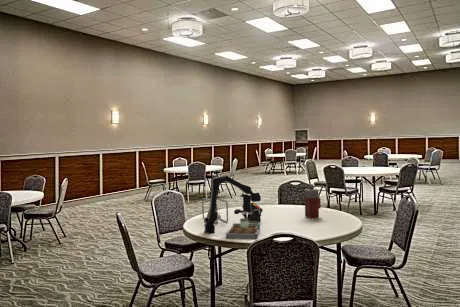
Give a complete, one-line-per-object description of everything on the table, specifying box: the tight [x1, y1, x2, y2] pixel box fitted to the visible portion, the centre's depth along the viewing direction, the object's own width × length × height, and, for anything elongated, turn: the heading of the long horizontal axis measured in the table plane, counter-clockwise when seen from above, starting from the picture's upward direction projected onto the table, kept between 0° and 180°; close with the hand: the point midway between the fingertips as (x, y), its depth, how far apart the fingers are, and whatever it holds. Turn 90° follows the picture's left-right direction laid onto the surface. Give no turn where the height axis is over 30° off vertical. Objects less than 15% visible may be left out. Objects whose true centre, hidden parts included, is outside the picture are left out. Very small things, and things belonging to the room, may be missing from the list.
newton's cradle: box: [201, 197, 229, 225], centre depth 333 cm, size 30×10×18 cm, turn 26°
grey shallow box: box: [225, 228, 260, 240], centre depth 277 cm, size 21×14×3 cm, turn 80°
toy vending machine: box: [304, 183, 322, 219], centre depth 337 cm, size 9×11×28 cm
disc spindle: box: [239, 217, 249, 228], centre depth 285 cm, size 6×6×9 cm
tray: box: [230, 222, 261, 234], centre depth 288 cm, size 20×16×4 cm
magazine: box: [248, 202, 264, 223], centre depth 325 cm, size 4×13×15 cm, turn 47°
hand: (247, 223), depth 300 cm, fingers closed
